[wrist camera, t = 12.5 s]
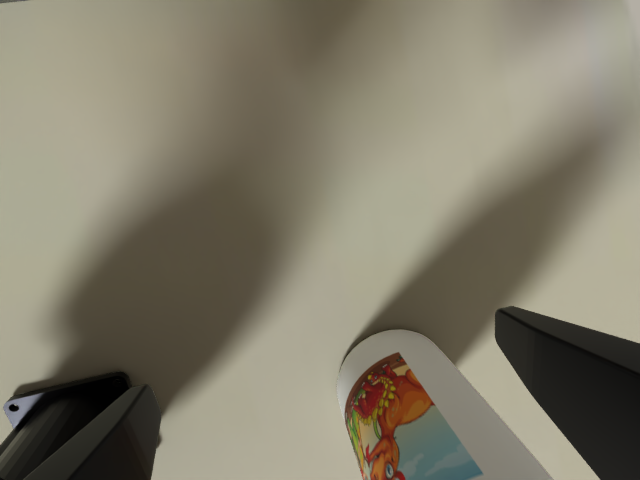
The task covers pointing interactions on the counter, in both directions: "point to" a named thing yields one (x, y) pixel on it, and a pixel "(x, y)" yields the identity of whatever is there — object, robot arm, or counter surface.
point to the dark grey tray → (4, 0)
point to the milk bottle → (423, 416)
